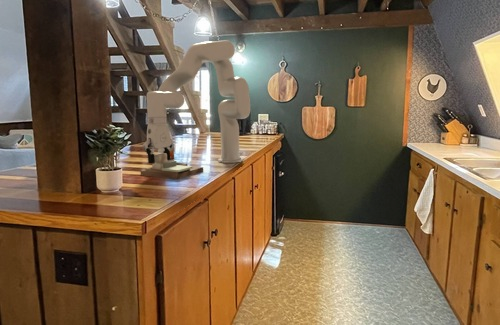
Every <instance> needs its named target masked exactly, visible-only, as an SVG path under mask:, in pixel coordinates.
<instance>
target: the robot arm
mask: <svg viewBox="0 0 500 325" xmlns="http://www.w3.org/2000/svg"><path fill="white" fill-rule="evenodd" d="M235 51H236V49H235V45H234V43H233V42H232V41H230V40H227V39H224V40H218V41H217V40H215V41H203V42H198V43H194V44H192V45H190V47H189V48H188V49H187V51H186V53H185V54H184V56H183V58H182V59H181V61H180V63H179V65H178V66H177V68H176V69H175V70H174V71H173V72H172V73H171V74H170V75H169V76H168V77H166V78H165V79H164V81H162V83H161V85H160V86H159V88H158V90H155V91H148V92H147V93H146V107H147V108H146V111H147V120H146V121H147V129H146V140H145V142H144V143H142V147H143V150H144V152H146V154H147V163H148V164H151V165H152V164H154V163H155V156H154V154H155V153H154V152H155V150H158V149H160V148H163V149H164V150H165V151H164V152H163V153H166V154H167V160H170V151H171V147H172V143H173V144H174V140H172V139H173V138H172V139H170V134H171V132H170V128H169V127H168V125H169V124H168V122H167V109H170V110H172V109H173V110H174V109H180V108H182V107H183V105H184V104H185V97H184V95H183V93H181V92H180V91H178V90H179V89H180V88H182V87H184V86H185V85H188V84H189V83H191V82H192V81H194V79H195V78H196V76H197V75H198V73H199V71H200V69H201V67H202V65H203V64H204V63H211V64H212V65H213V67H214V68H215V71H216V78H217V86H218V92H219V95H220V96H221V97H224V98H234V99H224V100H221V101H220V103H218V107H217V113H218V117H219V122H220V123H219V124H220V125H219V126H220V152H221V153H220V156H221V157H220V158H218V159H217V160H218V162H219V163H223V164H235V163H241V162H243V158H242V157H241V156H243V155H244V153H243V152H242V151H240V125H239V122H238V120H243V119H247V118H248V117H249V116H250V114H251V99H250V88H249V84H248V82H247V80H246V79H245V78H243V77H241V76H235V72H234V71H235V70H234V65H233V63H232V62H231V60H230V59H232V58H233V56H234V54H235Z"/></svg>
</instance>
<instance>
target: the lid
mask: <svg viewBox="0 0 500 325" xmlns="http://www.w3.org/2000/svg"><path fill="white" fill-rule="evenodd" d="M177 163H178V161H177V160H174V161H171V162H166V163H163V168H162V170H163V171H172V172H181V171H185V170H189V169H192V168H193V167H192V166H193V165H188V166H182V165H177Z"/></svg>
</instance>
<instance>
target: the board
mask: <svg viewBox="0 0 500 325" xmlns="http://www.w3.org/2000/svg"><path fill="white" fill-rule="evenodd" d="M177 165H182V166H189V165H188V163H185V162H184V163H183V162H177ZM191 166H192V167H193V168H192V169H189V170H185V171H181V172H172V171H163V170H162V169H161V170H158V169H152V166H150V167H147V168H144V169H141V170H139V171H140V176H144V177H145V176H147V177H154V178H163V179H170V180H180V179H183V178H186V177H190V176H193V175H197V174H200V173H203V172H204V167H203V166H193V165H191Z"/></svg>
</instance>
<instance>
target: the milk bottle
mask: <svg viewBox="0 0 500 325" xmlns="http://www.w3.org/2000/svg"><path fill="white" fill-rule="evenodd" d="M168 127H169V129H170V127H171V126H170V124H168ZM170 139H172V140H173V137H172V134H171V133H170ZM173 141H174V140H173ZM174 145H175V143H174V142H173V143H172V147H171V151H170V160H167V162H171V161H175V147H174ZM164 151H165V150H164V149H163V148H160V149H157V153H163V152H164Z"/></svg>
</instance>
